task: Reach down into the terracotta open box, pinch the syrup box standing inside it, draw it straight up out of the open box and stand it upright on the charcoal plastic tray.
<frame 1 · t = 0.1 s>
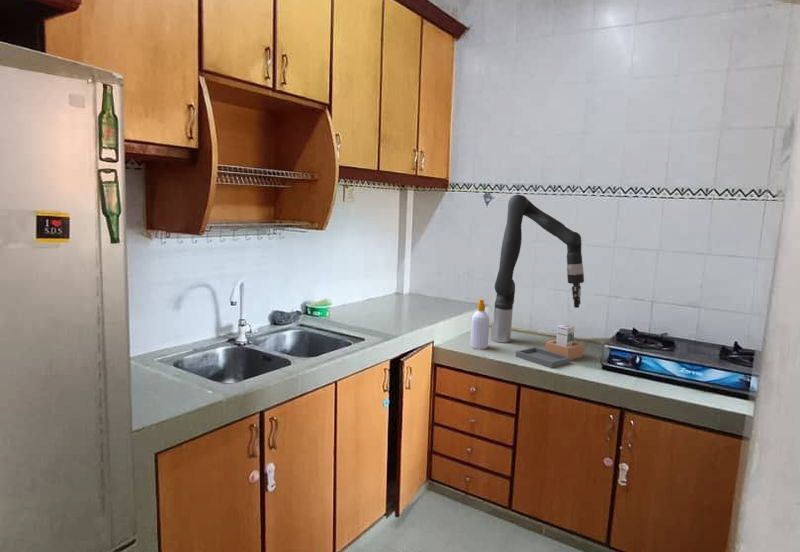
hand: (577, 306, 254), 22 cm above the worktop, tool pointing down, fingers open, 8 cm apart
terracotta open box: (563, 355, 248), on the worktop
soap bottle: (478, 347, 258), on the worktop
syrup box: (563, 355, 248), resting in terracotta open box
charcoal tray: (542, 359, 240), on the worktop
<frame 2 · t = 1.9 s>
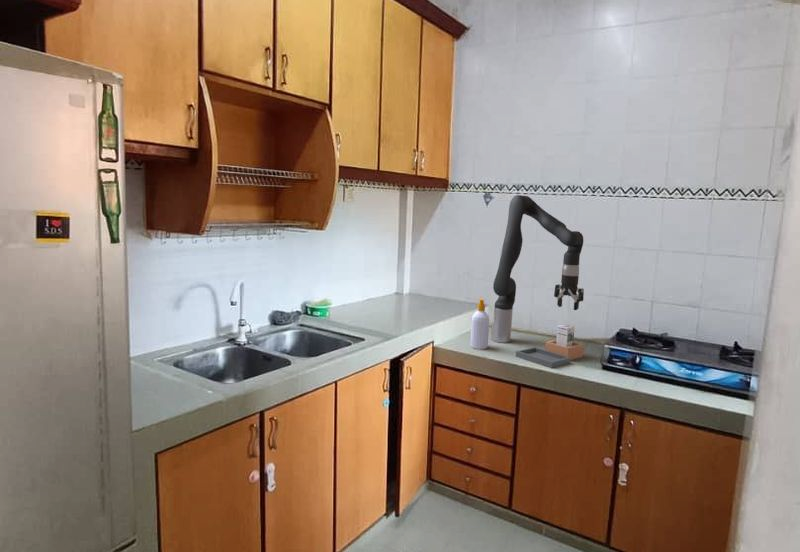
hand: (567, 308, 245), 23 cm above the worktop, tool pointing down, fingers open, 8 cm apart
nothing on the worktop moved.
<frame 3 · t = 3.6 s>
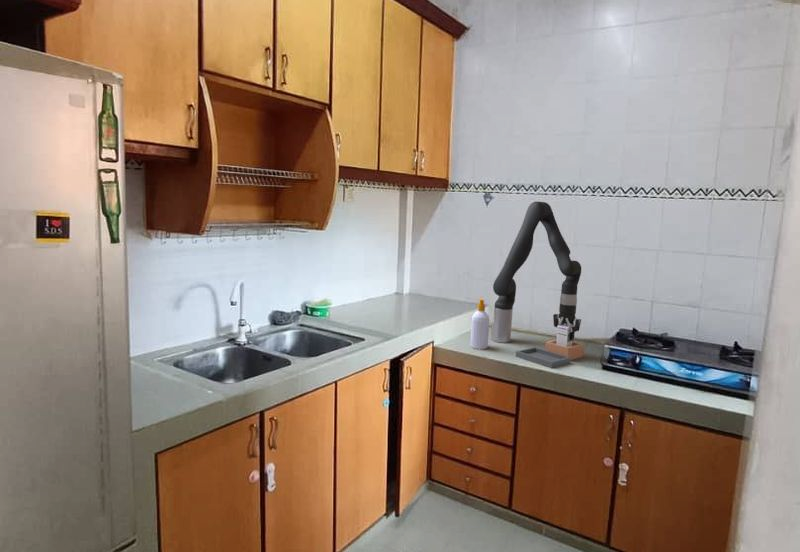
hand: (565, 337, 247), 9 cm above the worktop, tool pointing down, fingers closed on syrup box, 6 cm apart
syrup box: (563, 355, 248), resting in terracotta open box, touching gripper
everything else where it was.
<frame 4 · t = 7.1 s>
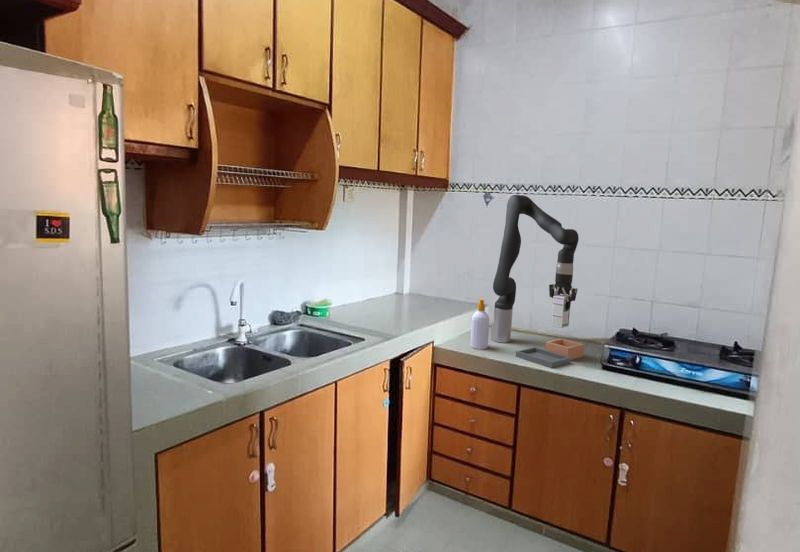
hand: (561, 308, 243), 23 cm above the worktop, tool pointing down, fingers closed on syrup box, 6 cm apart
syrup box: (559, 326, 244), point 15 cm above the worktop, touching gripper
everything else where it was.
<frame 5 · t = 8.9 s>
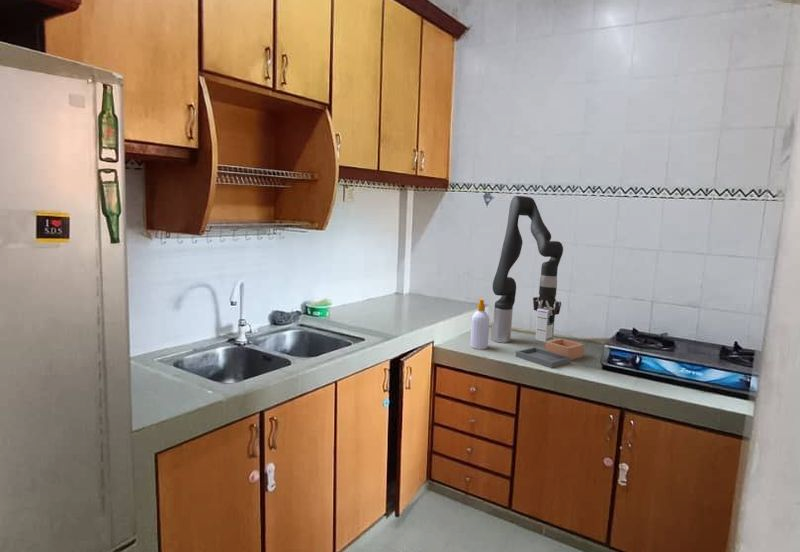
hand: (545, 321, 238), 18 cm above the worktop, tool pointing down, fingers closed on syrup box, 6 cm apart
syrup box: (543, 340, 239), point 9 cm above the worktop, touching gripper
everything else where it was.
when the fingers open (10 cm above the worktop, at t = 10.7 s): syrup box drops 1 cm, resting on charcoal tray.
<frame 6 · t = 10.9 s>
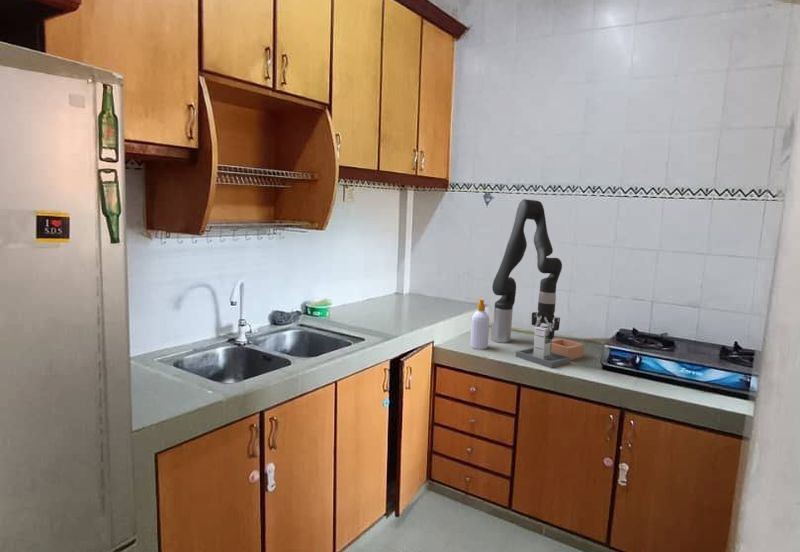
hand: (544, 337, 239), 11 cm above the worktop, tool pointing down, fingers open, 7 cm apart
syrup box: (541, 358, 240), point 1 cm above the worktop, touching charcoal tray, gripper
everything else where it was.
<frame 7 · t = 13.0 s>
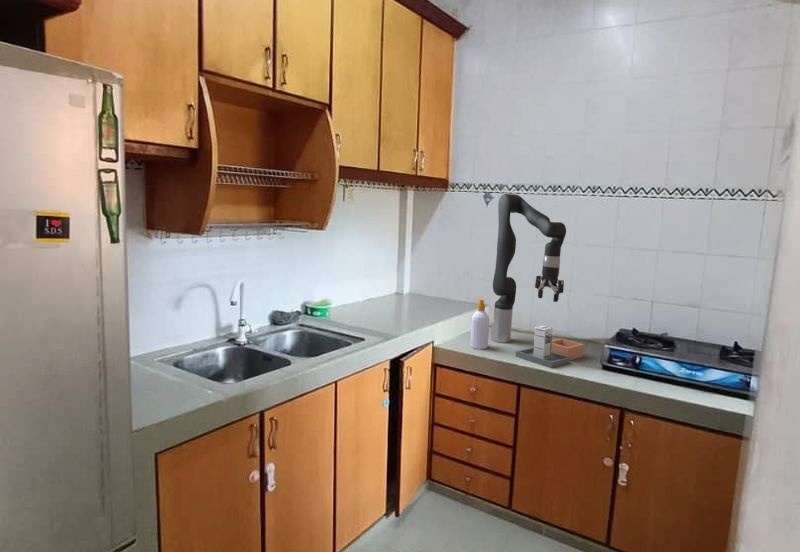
hand: (547, 299, 243), 27 cm above the worktop, tool pointing down, fingers open, 8 cm apart
syrup box: (541, 358, 240), point 1 cm above the worktop, touching charcoal tray
everything else where it was.
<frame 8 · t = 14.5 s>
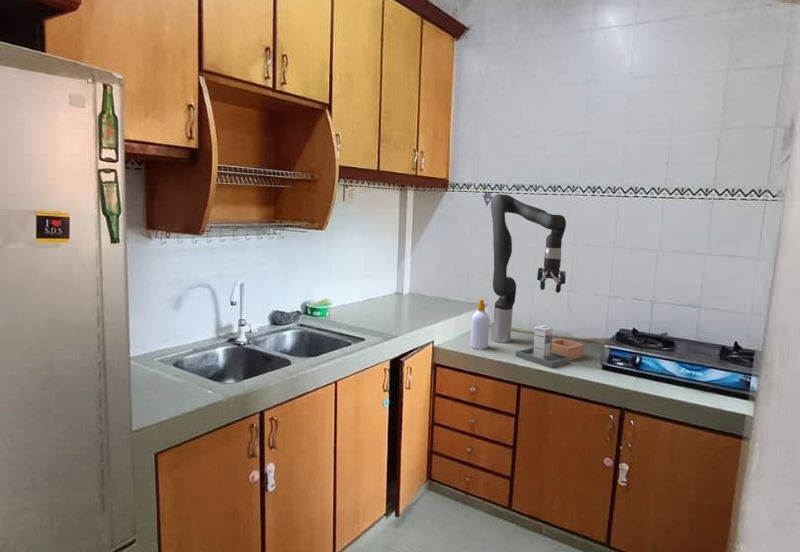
hand: (550, 291, 248), 30 cm above the worktop, tool pointing down, fingers open, 8 cm apart
nothing on the worktop moved.
at the end: syrup box inside the target area on the charcoal tray (0.6 cm from its centre), point 0.6 cm above the charcoal tray's base; syrup box tilted 0°; the gripper is holding nothing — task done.
